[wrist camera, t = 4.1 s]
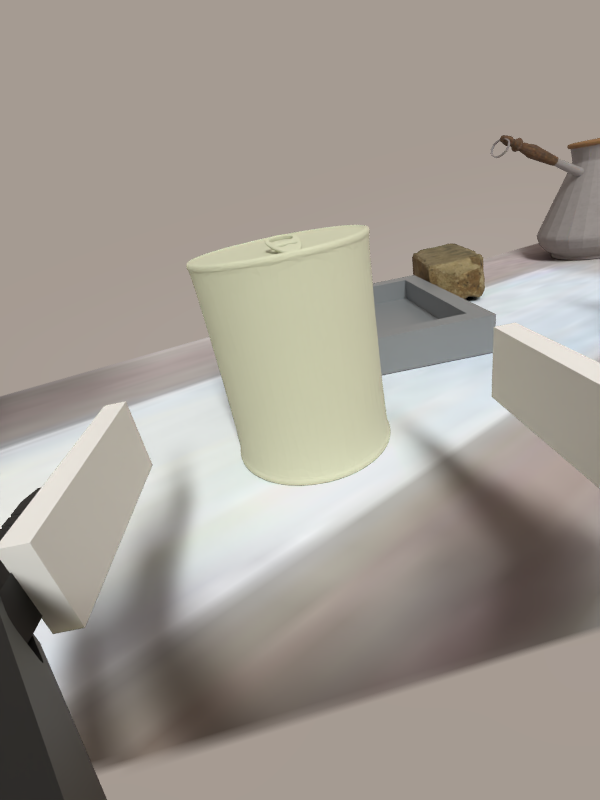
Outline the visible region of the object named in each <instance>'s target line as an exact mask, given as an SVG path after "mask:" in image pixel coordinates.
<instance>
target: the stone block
mask: <svg viewBox="0 0 600 800" xmlns="http://www.w3.org/2000/svg"><path fill="white" fill-rule="evenodd" d="M412 261H413V275H415V276H417V277H419V278H421V279H423V280H425V281H427V282H430V283H432V284H434V285H436V286H438V287H440V288H442V289H444V290H446V291H448V292H450V293H453V294H455V295H457V296H459V297H461V298H463V299H466V298H467V297H480V296H482V294H483V292H484V289H485V285H484V281H485V278H484V272H483V257H482V255H480V254H476V253H475V251H472V250H470V249H467V248H464V247H462V246H459V245H457V244H446V245H442V246H438V247H435V248H429V249H423V250H420V251H419V252H418V253H414V254H413V257H412Z"/></svg>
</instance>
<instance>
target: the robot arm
mask: <svg viewBox="0 0 600 800" xmlns="http://www.w3.org/2000/svg"><path fill="white" fill-rule="evenodd" d="M492 397H493V398H494V399H495V400H496V401H497V402H498V403H500V404H501V405H502V406H503V407H504V408H506V409H507V410H508V411H509V412H510V413H511V414H513V415H514V416H515V417H516V418H517V419H518V420H520V421H521V422H522V423H523V424H524V425H525V426H527V427H528V428H529V429H530V430H531V431H533V432H534V433H535V434H536V435H537V436H538V437H540V438H541V439H542V440H543V441H544V442H545V443H547V444H548V445H549V446H550V447H551V448H552V449H554V450H555V451H556V452H557V453H558V454H560V455H561V456H562V457H563V458H564V459H565V460H567V461H568V462H569V463H570V464H571V465H572V466H574V467H575V468H576V469H577V470H578V471H579V472H581V473H582V474H583V475H584V476H585V477H587V478H588V479H589V480H590V481H591V482H592V483H594V484H595V485H596V486H597V487H598V488H599V489H600V363H599V362H596V361H594V360H592V359H590V358H588V357H586V356H584V355H582V354H580V353H578V352H576V351H573V350H571V349H569V348H567V347H565V346H563V345H561V344H559V343H557V342H555V341H553V340H551V339H548V338H546V337H544V336H542V335H540V334H538V333H536V332H534V331H532V330H530V329H528V328H526V327H523V326H521V325H519V324H517V323H511V324H506V325H501V326H496V327H494V336H493V369H492ZM151 467H152V463H151V460H150V458H149V456H148V453H147V451H146V448H145V446H144V444H143V441H142V439H141V436H140V434H139V432H138V429H137V427H136V425H135V422H134V420H133V417H132V415H131V413H130V410H129V408H128V405H127V403H126V402H121V403H116V404H111V405H106V406H104V407H103V408H102V410H101V411H100V412H99V414H98V415H97V416H96V417H95V419H94V420H93V421H92V423H91V424H90V425H89V427H88V428H87V429H86V430H85V432H84V433H83V434H82V436H81V437H80V438H79V440H78V441H77V442H76V443H75V445H74V446H73V447H72V449H71V450H70V451H69V453H68V454H67V455H66V456H65V458H64V459H63V460H62V462H61V463H60V464H59V465H58V467H57V468H56V469H55V471H54V472H53V473H52V475H51V476H50V477H49V478H48V480H47V481H46V482H45V484H44V485H43V486H42V487H41V488H38V489H37V490H35V491H34V492H33V493H32V494H30V495H29V496H28V497H27V498H25V499H24V500H23V501H22V502H21V503H20V504H19V505H18V507H17V508H16V509H15V510H14V512H13V513H12V514H11V517H10V518H8V519H7V520H6V522H5V523H4V524H3V525H2V529H0V800H107V799H106V796H105V794H104V792H103V789H102V787H101V785H100V782H99V780H98V778H97V775H96V773H95V770H94V768H93V766H92V763H91V761H90V759H89V756H88V754H87V752H86V749H85V747H84V745H83V742H82V740H81V738H80V735H79V733H78V731H77V728H76V726H75V724H74V721H73V719H72V717H71V714H70V712H69V710H68V707H67V705H66V703H65V700H64V698H63V696H62V693H61V691H60V689H59V686H58V684H57V682H56V679H55V677H54V675H53V672H52V670H51V668H50V665H49V663H48V661H47V658H46V656H45V654H44V651H43V649H42V647H41V644H40V642H39V641H38V640H37V638H36V637H35V636H34V634H33V633H34V631H35V629H36V627H37V625H38V623H39V622H40V620H41V618H42V619H43V621H44V622H45V623H46V625H47V626H48V628H49V629H50V630H51V632H52V633H53V634H56V633H61V632H66V631H71V630H76V629H81V628H85V626H86V624H87V621H88V619H89V617H90V614H91V612H92V609H93V607H94V605H95V602H96V600H97V597H98V595H99V593H100V590H101V588H102V585H103V583H104V581H105V578H106V576H107V573H108V571H109V569H110V566H111V564H112V561H113V559H114V556H115V554H116V552H117V549H118V547H119V544H120V542H121V540H122V537H123V535H124V532H125V530H126V528H127V525H128V523H129V520H130V518H131V516H132V513H133V511H134V508H135V506H136V504H137V501H138V499H139V496H140V494H141V492H142V489H143V487H144V484H145V482H146V479H147V477H148V475H149V472H150V470H151Z"/></svg>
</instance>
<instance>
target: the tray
mask: <svg viewBox="0 0 600 800" xmlns="http://www.w3.org/2000/svg"><path fill="white" fill-rule="evenodd" d="M373 294H374V305H375V316H376V326H377V336H378V346H379V356H380V366H381V375H384V374H389V373H394V372H399V371H404V370H409V369H414V368H419V367H424V366H429V365H433V364H438V363H443V362H448V361H453V360H458V359H463V358H468V357H473V356H478V355H483V354H487V353H492V352H493V336H494V327H495V324H496V314H494V313H492V312H490V311H488V310H486V309H484V308H482V307H480V306H478V305H475V304H473V303H471V302H469V301H467V300H465V299H463V298H461V297H459V296H457V295H455V294H453V293H450V292H448V291H446V290H444V289H442V288H440V287H438V286H436V285H434V284H432V283H430V282H427V281H425V280H423V279H421V278H419V277H417V276H415V275H412V276H407V277H402V278H398V279H393V280H388V281H383V282H378V283H374V284H373Z"/></svg>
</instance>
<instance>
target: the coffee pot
mask: <svg viewBox="0 0 600 800" xmlns="http://www.w3.org/2000/svg"><path fill="white" fill-rule="evenodd" d="M499 141H501V142H502V143H503V144H504V145H506V146H507V148H506V150H505V151H504V152H503V153H502V154H501V155H499V156H494V155H493V148H494V146H495V145H496V144H497V143H498V142H499ZM510 146H511V147H512V151H515V152H516V151H520V152H521V153H523V154H524V155H525V156H526V157H528V158H530V159H533V160H536V161H539V162H543V163H546V164H549V165H553V166H556V167H558V168H560V169H562V170H564V171H566V172H568V173H567V175H566V177H565V179H564V181H563V184H562V186H561V187H560V189H559V192H558V193H557V195H556V197H555V199H554V201H553V203H552V205H551V207H550V210H549V212H548V214H547V216H546V218H545V220H544V222H543V224H542V226H541V228H540V230H539V232H538V235H537V239H538V242H539V244H540V246H541V247H542V248H543V249H544V250H546V251H548V252H550V253H552V257H553V258H557V259H564V260H582V259H594V258H600V138H597V139H592V140H587V141H583V142H578V143H573V144H570V145H568V149H571V154H572V161H573V162H572V164H571V163H569V162H566V161H564V160H561V159H559V158H558V157H556V156H554V155H553V154H551V153H549V152H547V151H546V150H544V149H542V148H540V147H539V146H537V145H534V144H528V143H523V140H522V139H521V138H518V139H516V140H515V139H513V137H511V136H505V135H503V136H501V138H500V139H499V140H498V141H496V142H495V143H494V144H493V146H492V149H491V155H492V156H493V157H495V158H499V157H501V156H502V155H504V154H505V152H507V150H508V148H509V147H510Z"/></svg>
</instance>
